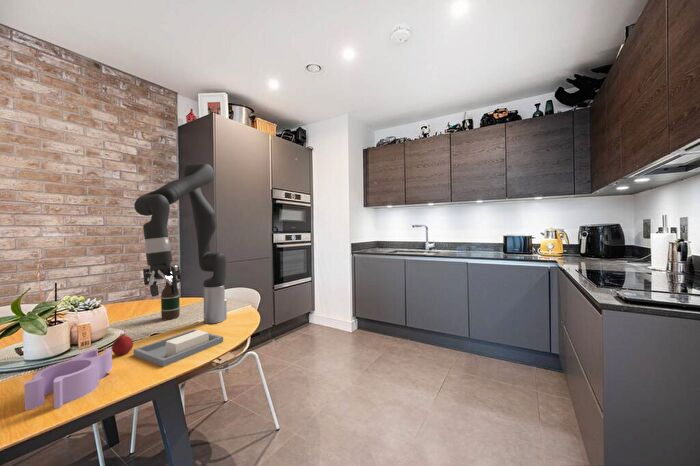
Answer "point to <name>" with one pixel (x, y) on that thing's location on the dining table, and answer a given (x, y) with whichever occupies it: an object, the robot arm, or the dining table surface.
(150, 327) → the dining table surface
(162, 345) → the tray
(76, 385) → the clip
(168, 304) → the beer bottle
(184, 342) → the white box
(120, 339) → the onion
